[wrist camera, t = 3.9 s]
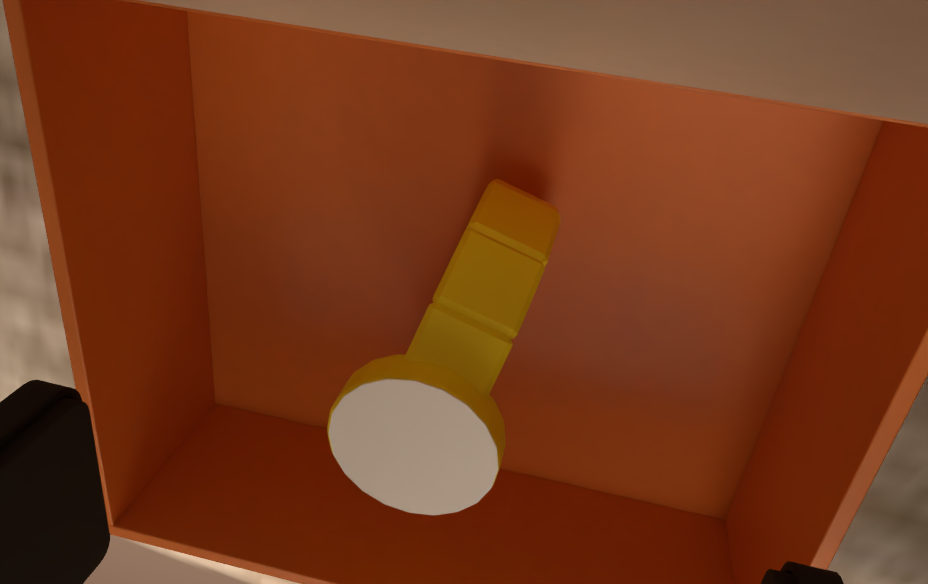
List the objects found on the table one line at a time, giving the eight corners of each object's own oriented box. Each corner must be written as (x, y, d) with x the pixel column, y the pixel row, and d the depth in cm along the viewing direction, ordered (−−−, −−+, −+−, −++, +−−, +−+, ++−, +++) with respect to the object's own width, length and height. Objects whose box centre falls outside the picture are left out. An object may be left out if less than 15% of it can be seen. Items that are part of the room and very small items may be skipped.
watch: (480, 124, 15) (395, 246, 10) (605, 184, 15) (587, 336, 10) (384, 345, 18) (281, 527, 13) (488, 393, 18) (426, 595, 13)
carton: (211, 403, 20) (102, 532, 16) (175, -60, 15) (-7, -41, 10) (732, 522, 19) (759, 702, 14) (923, 49, 13) (1058, 122, 9)
